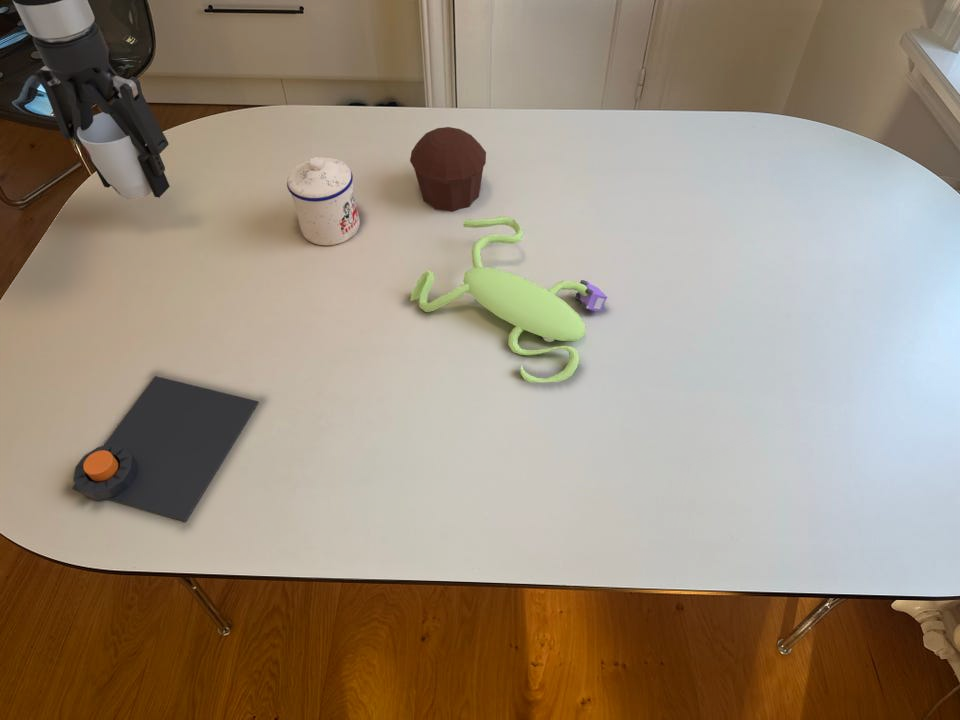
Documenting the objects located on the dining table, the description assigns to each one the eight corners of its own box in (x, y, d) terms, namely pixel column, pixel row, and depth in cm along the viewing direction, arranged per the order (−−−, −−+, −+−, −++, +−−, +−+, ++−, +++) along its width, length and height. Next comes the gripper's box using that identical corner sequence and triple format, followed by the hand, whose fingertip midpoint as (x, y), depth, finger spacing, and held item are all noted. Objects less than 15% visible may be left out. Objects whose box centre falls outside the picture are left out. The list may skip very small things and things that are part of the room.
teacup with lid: (356, 248, 102) (343, 181, 93) (294, 247, 102) (274, 180, 93) (368, 196, 109) (356, 129, 100) (310, 195, 110) (293, 129, 101)
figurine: (485, 229, 104) (484, 198, 99) (637, 316, 92) (644, 286, 88) (394, 297, 95) (389, 266, 91) (548, 402, 83) (551, 373, 79)
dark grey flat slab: (74, 498, 77) (61, 484, 74) (159, 382, 87) (150, 367, 84) (187, 530, 74) (177, 517, 72) (261, 408, 84) (254, 392, 82)
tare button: (83, 477, 75) (76, 470, 74) (100, 454, 77) (94, 447, 76) (107, 484, 75) (101, 477, 73) (124, 461, 76) (118, 453, 75)
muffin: (498, 205, 107) (498, 148, 99) (430, 225, 104) (424, 168, 97) (469, 163, 114) (467, 107, 106) (404, 180, 112) (397, 124, 104)
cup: (119, 171, 104) (90, 109, 97) (174, 172, 104) (149, 110, 96) (99, 205, 99) (66, 143, 92) (156, 206, 99) (128, 144, 91)
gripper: (156, 25, 84) (213, 183, 102) (13, 4, 88) (92, 160, 106) (119, 55, 80) (185, 215, 97) (-30, 31, 84) (60, 189, 101)
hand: (137, 186), depth 102 cm, fingers closed on cup, 8 cm apart
